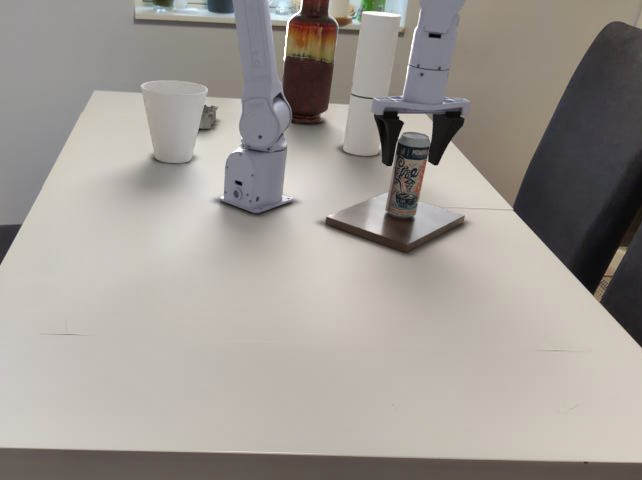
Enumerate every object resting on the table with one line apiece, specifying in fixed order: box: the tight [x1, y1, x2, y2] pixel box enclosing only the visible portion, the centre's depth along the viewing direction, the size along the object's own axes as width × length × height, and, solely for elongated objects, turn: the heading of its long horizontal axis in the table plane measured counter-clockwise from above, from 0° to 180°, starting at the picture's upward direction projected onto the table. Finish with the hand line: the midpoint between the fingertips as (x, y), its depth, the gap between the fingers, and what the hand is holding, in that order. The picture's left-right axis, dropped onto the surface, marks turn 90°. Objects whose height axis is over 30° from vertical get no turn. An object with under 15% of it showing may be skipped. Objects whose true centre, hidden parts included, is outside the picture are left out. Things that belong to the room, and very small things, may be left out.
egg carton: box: [199, 103, 219, 130], centre depth 152 cm, size 11×8×4 cm
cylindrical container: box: [342, 10, 402, 157], centre depth 136 cm, size 7×7×25 cm
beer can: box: [385, 131, 431, 218], centre depth 106 cm, size 5×5×12 cm
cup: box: [139, 79, 209, 164], centre depth 127 cm, size 12×12×12 cm
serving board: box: [324, 191, 466, 253], centre depth 109 cm, size 18×14×1 cm
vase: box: [281, 0, 339, 125], centre depth 155 cm, size 11×11×26 cm
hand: (409, 163), depth 105 cm, fingers open, 7 cm apart
